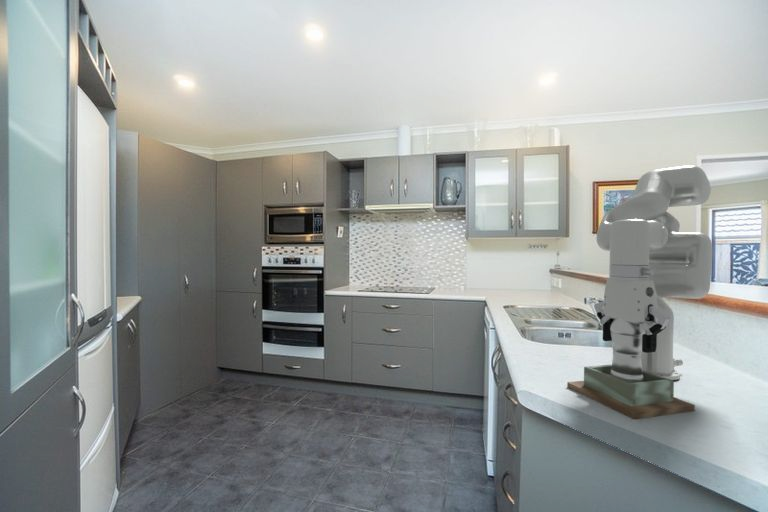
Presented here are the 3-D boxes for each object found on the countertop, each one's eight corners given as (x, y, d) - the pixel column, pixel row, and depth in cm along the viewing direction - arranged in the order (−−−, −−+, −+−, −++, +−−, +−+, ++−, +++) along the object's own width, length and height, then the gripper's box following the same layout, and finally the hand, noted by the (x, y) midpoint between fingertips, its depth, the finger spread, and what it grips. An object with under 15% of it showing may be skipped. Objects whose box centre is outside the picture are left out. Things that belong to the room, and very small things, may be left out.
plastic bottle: (650, 399, 75) (652, 309, 75) (616, 396, 76) (618, 307, 76) (635, 388, 81) (636, 305, 81) (604, 385, 82) (605, 304, 82)
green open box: (620, 381, 89) (620, 360, 89) (694, 410, 72) (695, 384, 72) (567, 387, 84) (567, 364, 84) (634, 419, 68) (634, 390, 68)
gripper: (682, 275, 71) (680, 355, 71) (607, 270, 88) (606, 336, 88) (655, 275, 69) (654, 358, 69) (584, 270, 86) (583, 337, 86)
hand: (627, 345), depth 79 cm, fingers open, 9 cm apart
